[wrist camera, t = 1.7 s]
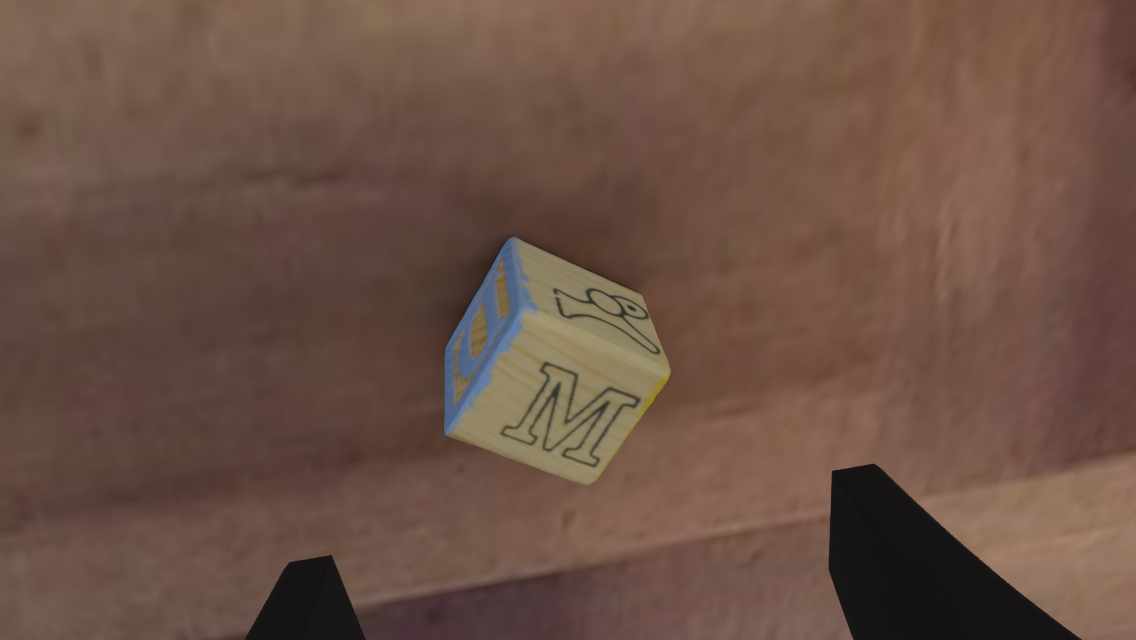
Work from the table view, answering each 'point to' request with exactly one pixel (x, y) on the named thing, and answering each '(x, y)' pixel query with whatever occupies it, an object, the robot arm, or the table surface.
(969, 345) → the table surface
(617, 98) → the table surface
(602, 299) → the alphabet block
